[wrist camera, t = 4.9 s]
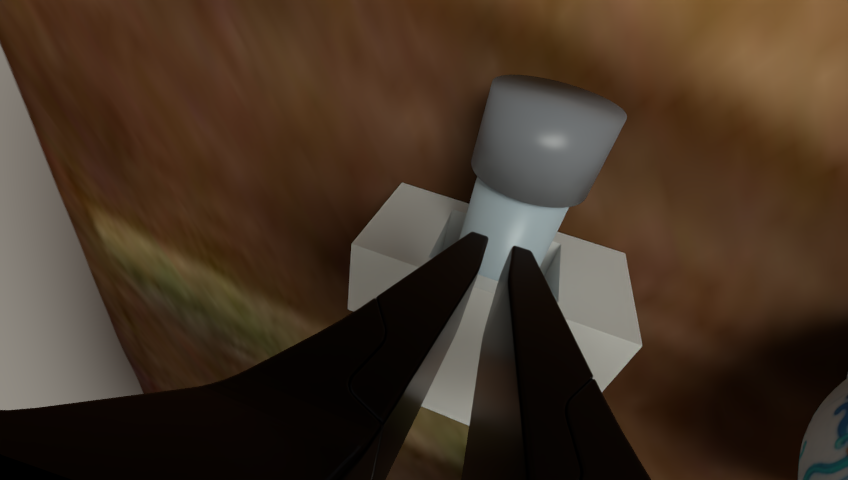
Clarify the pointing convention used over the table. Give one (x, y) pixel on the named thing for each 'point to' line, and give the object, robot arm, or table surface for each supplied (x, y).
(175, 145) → the table surface
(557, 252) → the housing
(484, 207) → the cartridge
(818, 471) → the chinaware
